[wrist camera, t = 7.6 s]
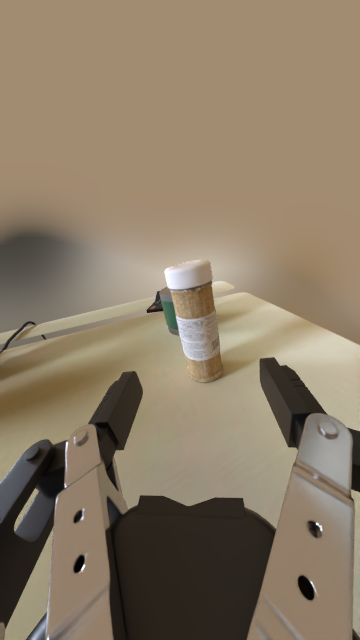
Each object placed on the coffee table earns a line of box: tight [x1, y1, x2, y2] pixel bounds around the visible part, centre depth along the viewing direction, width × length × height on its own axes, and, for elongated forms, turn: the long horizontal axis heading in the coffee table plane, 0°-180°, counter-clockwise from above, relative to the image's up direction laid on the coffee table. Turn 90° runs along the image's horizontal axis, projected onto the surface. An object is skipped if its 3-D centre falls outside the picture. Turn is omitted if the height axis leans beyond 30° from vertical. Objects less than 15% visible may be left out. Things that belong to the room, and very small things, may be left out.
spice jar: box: [165, 260, 223, 382], centre depth 19 cm, size 5×5×13 cm
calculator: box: [147, 291, 163, 313], centre depth 51 cm, size 9×12×3 cm
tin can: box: [159, 287, 180, 335], centre depth 33 cm, size 8×8×8 cm
